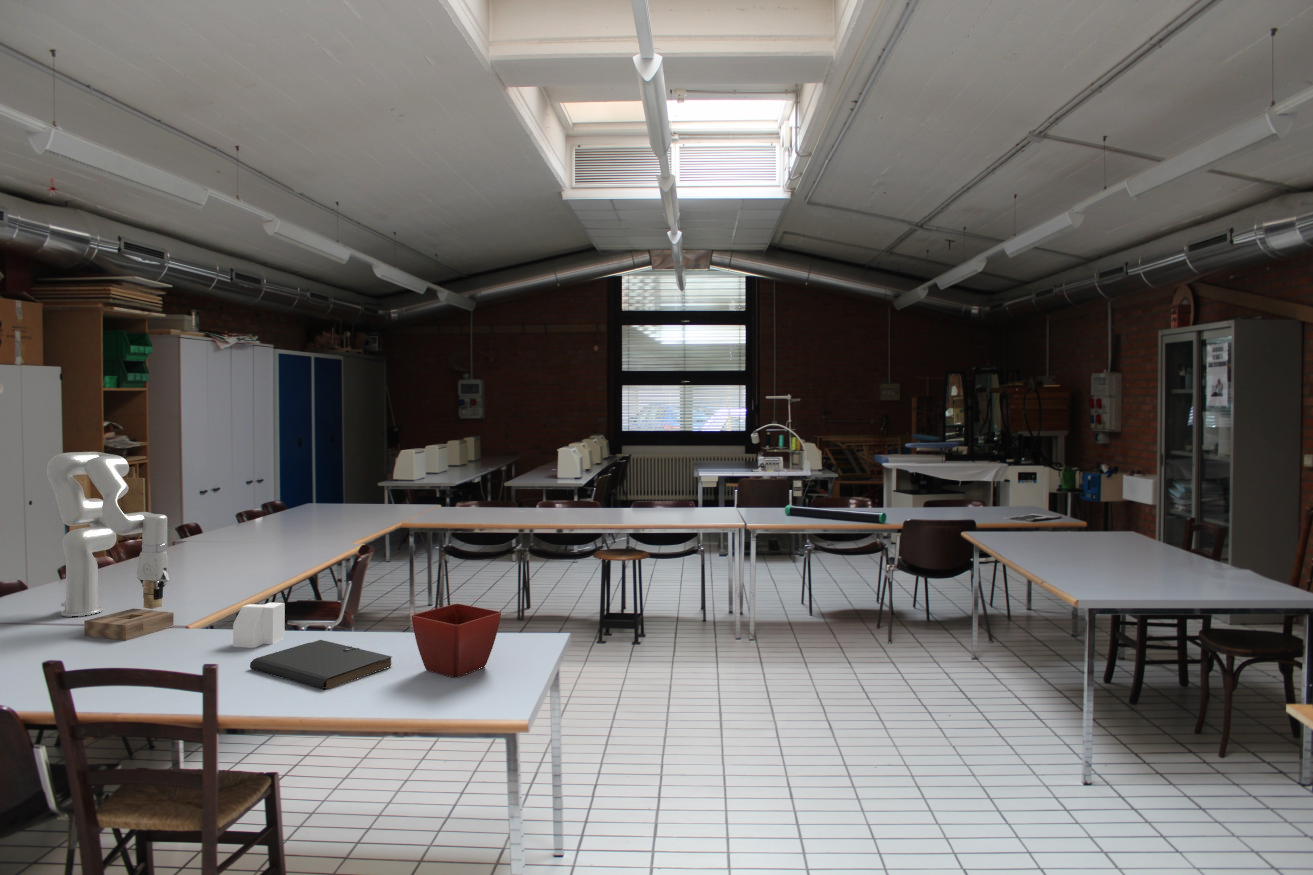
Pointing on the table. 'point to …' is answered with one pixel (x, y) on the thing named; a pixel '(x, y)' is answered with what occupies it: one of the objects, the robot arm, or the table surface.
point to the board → (128, 624)
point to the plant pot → (455, 638)
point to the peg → (150, 595)
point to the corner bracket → (259, 625)
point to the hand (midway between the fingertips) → (153, 597)
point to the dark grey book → (321, 663)
